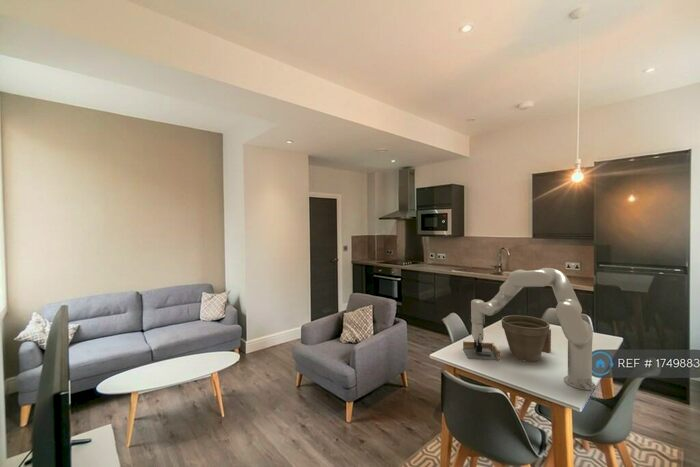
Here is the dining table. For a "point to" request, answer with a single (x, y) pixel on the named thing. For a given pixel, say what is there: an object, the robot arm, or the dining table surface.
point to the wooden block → (547, 343)
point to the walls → (484, 345)
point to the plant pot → (525, 336)
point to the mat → (473, 355)
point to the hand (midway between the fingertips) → (478, 349)
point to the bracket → (483, 350)
